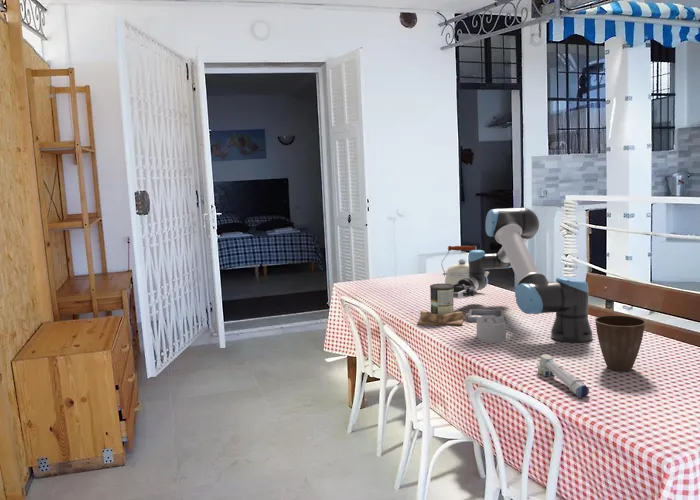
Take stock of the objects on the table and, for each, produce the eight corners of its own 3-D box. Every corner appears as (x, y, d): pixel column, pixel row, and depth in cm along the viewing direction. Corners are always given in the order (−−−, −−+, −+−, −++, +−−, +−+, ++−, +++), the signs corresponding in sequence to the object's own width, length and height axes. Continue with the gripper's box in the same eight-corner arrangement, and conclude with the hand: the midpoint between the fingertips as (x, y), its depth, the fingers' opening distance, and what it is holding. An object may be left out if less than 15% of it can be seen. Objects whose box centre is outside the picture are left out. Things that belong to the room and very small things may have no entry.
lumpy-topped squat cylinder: (499, 333, 252) (499, 312, 251) (510, 342, 239) (510, 320, 238) (474, 335, 251) (474, 313, 250) (483, 343, 238) (483, 321, 237)
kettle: (440, 295, 330) (439, 248, 326) (443, 288, 347) (442, 243, 344) (489, 295, 324) (488, 248, 320) (489, 288, 341) (489, 243, 338)
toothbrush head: (575, 386, 180) (534, 350, 204) (573, 407, 182) (533, 369, 206) (592, 384, 181) (549, 349, 205) (589, 405, 183) (548, 367, 207)
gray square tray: (503, 322, 269) (503, 318, 268) (467, 321, 272) (467, 317, 272) (503, 314, 283) (503, 310, 283) (469, 313, 287) (469, 309, 286)
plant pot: (586, 369, 206) (587, 321, 204) (605, 358, 216) (606, 312, 214) (632, 378, 195) (634, 328, 193) (651, 367, 206) (652, 319, 203)
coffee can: (426, 318, 276) (426, 286, 275) (435, 313, 285) (435, 282, 283) (448, 320, 271) (448, 288, 269) (457, 315, 280) (457, 284, 278)
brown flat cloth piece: (422, 315, 286) (421, 307, 285) (464, 316, 281) (464, 307, 281) (417, 324, 270) (417, 315, 269) (462, 325, 265) (462, 316, 265)
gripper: (491, 296, 289) (470, 305, 273) (444, 291, 304) (421, 299, 288) (491, 280, 288) (470, 288, 272) (443, 275, 303) (420, 283, 287)
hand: (444, 294), depth 280 cm, fingers open, 13 cm apart
